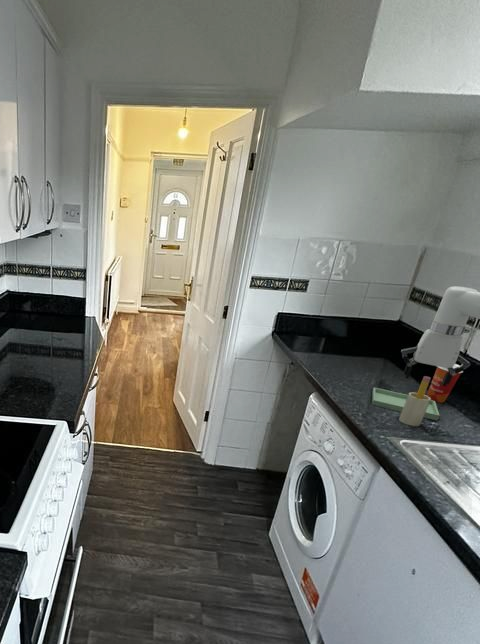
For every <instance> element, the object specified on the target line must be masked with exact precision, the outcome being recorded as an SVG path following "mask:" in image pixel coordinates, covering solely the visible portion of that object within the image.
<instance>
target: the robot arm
mask: <svg viewBox="0 0 480 644" xmlns="http://www.w3.org/2000/svg"><path fill="white" fill-rule="evenodd" d="M470 317H472V318H475V319H478V320H480V291H478V290H477V289H475V288H473V287H466V286H458V285H457V286H449V287H447V289H446V290H445V292H444V293H443V296H442V298H441V301H440V303H439V306H438V308H437V311H436V313H435V316H434V319H433V321H432V324H431V326H430V328H429V329H426V330H425V331H424V332H423V334H422V336H421V338H420V339H419V342H418V343H417V345H416V346H413V347H407V348H403V349H401V350H400V353H401V356H402V360H403V362H404V363H405V367H404V368H405V369H404V370H403V375H404V379H409V378H410V375H411V373H412V370H413V365H416V364H418V363H420V364H425V365H429V366H433V367H437V366H439V367H444V368H447V369H448V372H446V374H445V376H444V378H443V381H442V386H444V387H446V384H449V383H450V381H451V379H452V376H453V375H455V374H457V373H459V372H462V371H463V372H464V370H466V369H467V368H469V367H470V366H471V363H470V361H468V360H467V359H465V358H464V357H463V356H461V355H460V351H461V348H462V345H463V341H464V335H463V334H470V331H471V328H468V327H466V325H467V322H468V320H469V318H470ZM412 353H413V357H412V358H410V359H409V357H408V354H412ZM456 362H459V363H460V364H461V365H459V367H456V368H454V369H453V366H454V365H455V364H457V363H456ZM463 372H462V373H463Z"/></svg>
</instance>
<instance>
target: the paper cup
mask: <svg viewBox="0 0 480 644" xmlns="http://www.w3.org/2000/svg"><path fill="white" fill-rule="evenodd" d="M459 366H460V365H459V364H457V363H455V365H454V366H453V369H454V368H456V367H459ZM446 372H448V369H447V368H444V367H439V366H436V370H435V372H434V375H433V377H432V380H431V381H430V385H429V388H428V391H427V394H426V396H428V397H430V398H431V400H433V401H435V403H444V402H446V400H447V398H448V396H449V395H450V393H451V392H452V390H453V388H454V387H455V384H456V383H457V381H458V379H459V377H460V376H461V374H462V373H464V370H463V371H462V372H459V373H457V374H455V375H453V376H452V379H451V381H450V383H449V384H446V387H444V386H442V381H443V378H444V376H445V374H446Z"/></svg>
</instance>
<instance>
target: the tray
mask: <svg viewBox="0 0 480 644" xmlns="http://www.w3.org/2000/svg"><path fill="white" fill-rule="evenodd" d="M371 396H372V397H371V405H373V406H377V407H380V408H385V409H388V410H391V411H396V412H400V413H401V412H402V409H403V407H404V404H405V402H406V399H407V396H408V394H405V393H401V392H395V391H393V390H387V389H383V388H378V387H373V388H372V395H371ZM440 416H441V415H440V412H439V410H438V406H437V402H435V401H433V400H430V403H429V405H428V407H427V410H426V412H425V415H424V417H423V419H428V420H433V421H436V422H438V420H439V418H440Z"/></svg>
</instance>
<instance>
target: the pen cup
mask: <svg viewBox="0 0 480 644" xmlns="http://www.w3.org/2000/svg"><path fill="white" fill-rule="evenodd" d="M407 395H408V396H407V399H406V402H405V404H404V407H403V409H402V412H400V415H399V417H398V421H399V422H400V423H402V424H404V425H407V426H410V427H411V426H412V427H419V426H421V425H422V422H423V419H424V415H425V412H426V410H427V407H428V405H429V403H430V400H431V398H430V397H428V396H427V394H424V396H423V399H419V398H416V395H417V392H414V391H413V392H408V394H407Z"/></svg>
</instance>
